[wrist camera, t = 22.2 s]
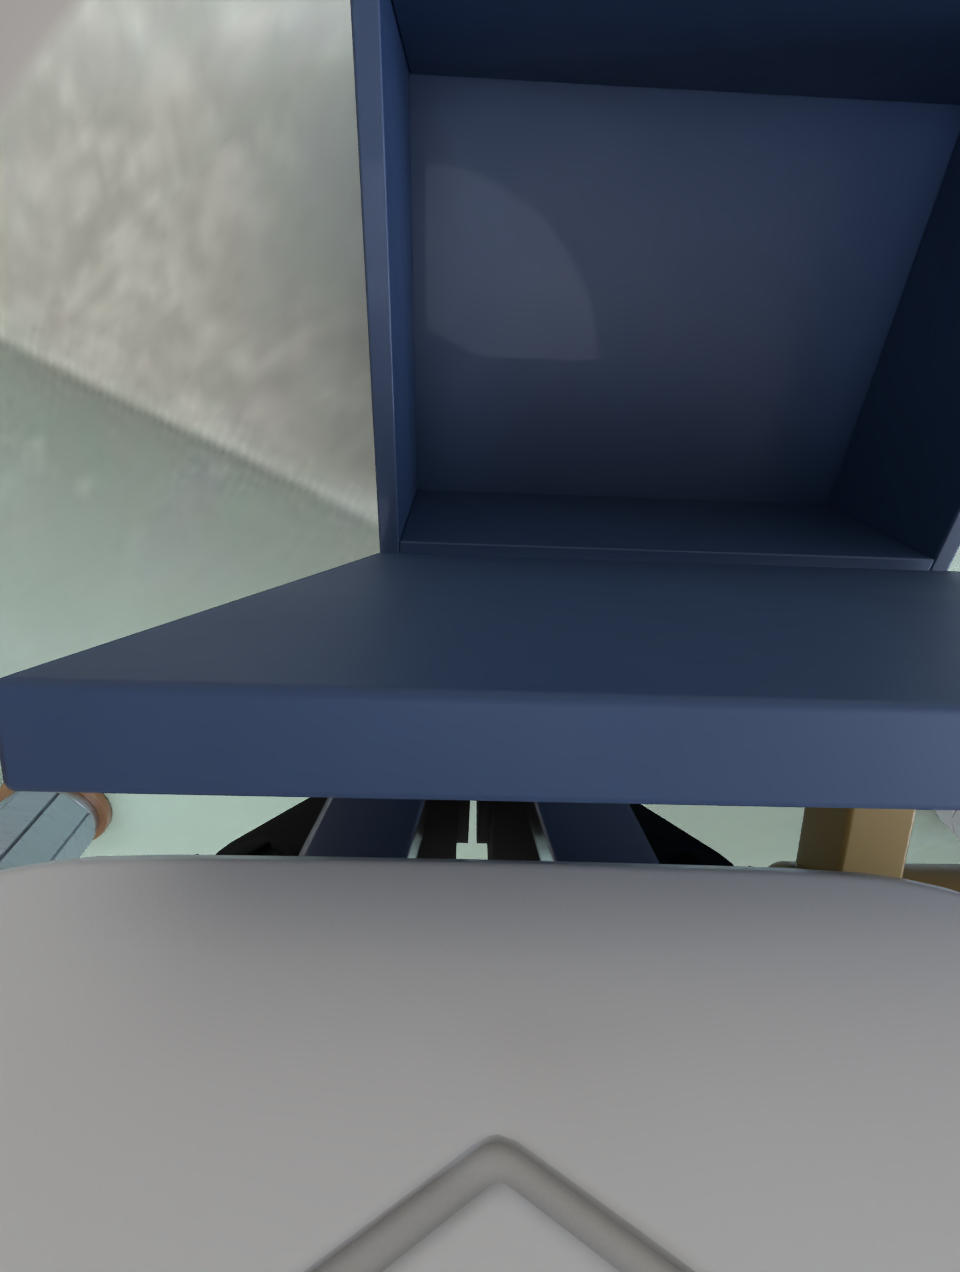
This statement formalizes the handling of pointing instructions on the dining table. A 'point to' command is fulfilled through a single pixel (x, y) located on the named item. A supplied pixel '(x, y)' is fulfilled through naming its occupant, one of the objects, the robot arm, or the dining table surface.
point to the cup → (950, 820)
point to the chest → (664, 278)
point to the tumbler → (44, 827)
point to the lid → (533, 695)
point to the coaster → (94, 798)
